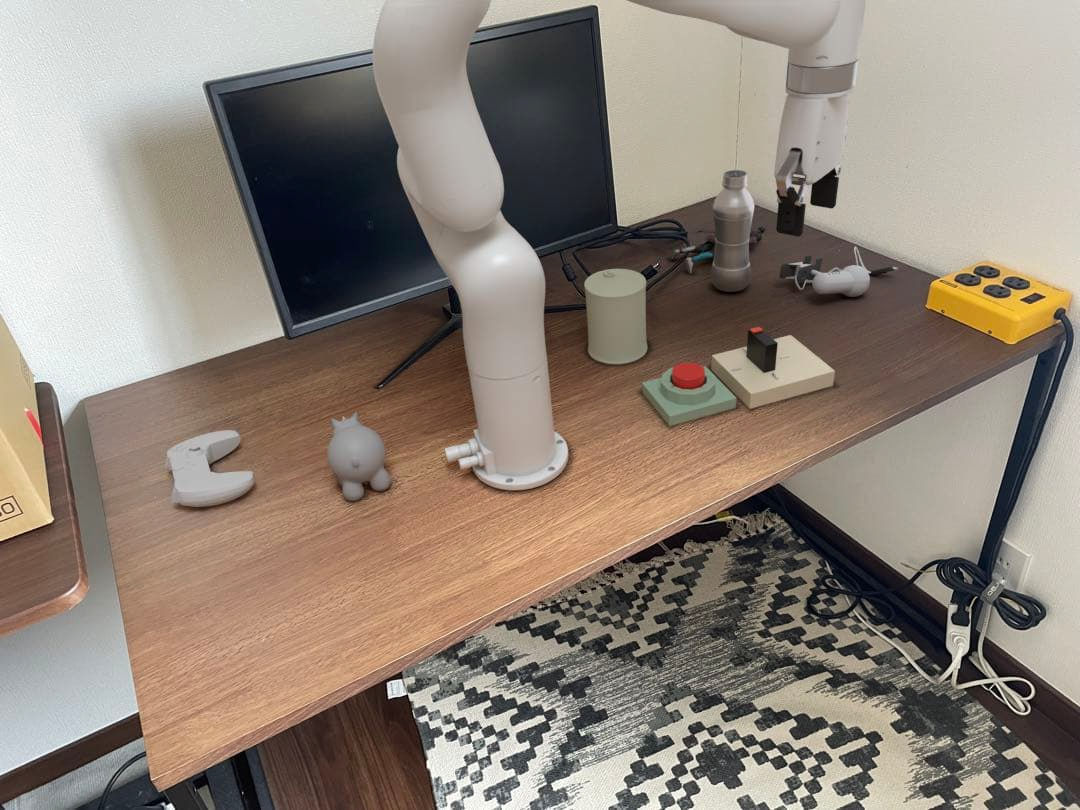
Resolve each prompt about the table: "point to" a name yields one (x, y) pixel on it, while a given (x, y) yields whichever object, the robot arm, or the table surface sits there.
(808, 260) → the clip-on lamp
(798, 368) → the panel
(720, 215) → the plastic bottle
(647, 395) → the power switch
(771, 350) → the knob
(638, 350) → the can
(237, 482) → the game controller
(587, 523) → the table surface
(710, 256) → the action figure
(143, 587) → the table surface
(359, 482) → the chubby cartoon animal
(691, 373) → the power button
